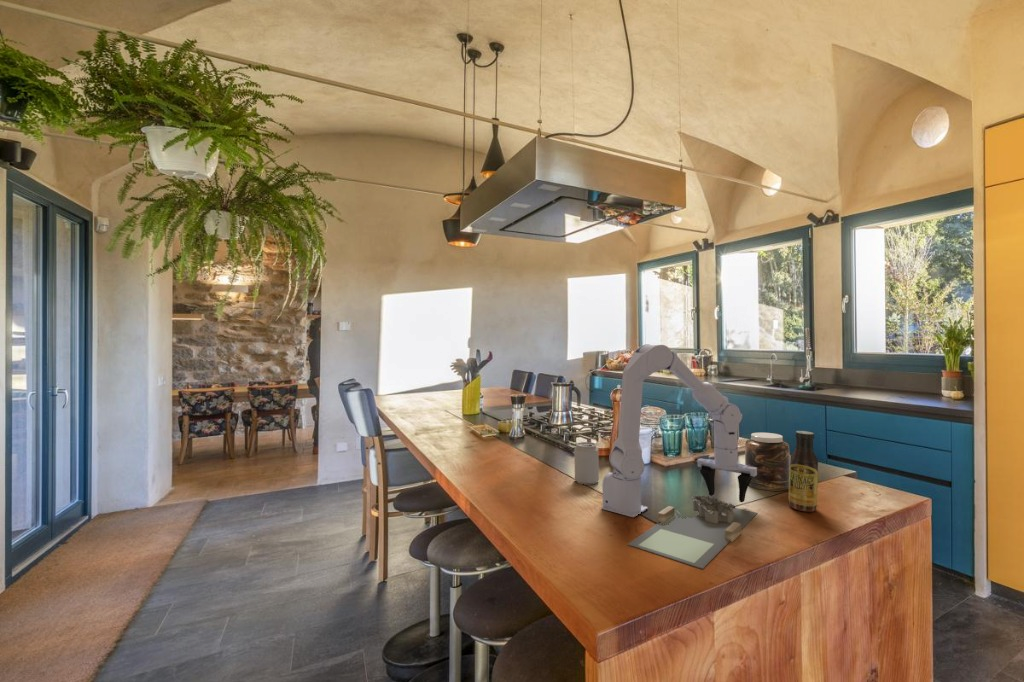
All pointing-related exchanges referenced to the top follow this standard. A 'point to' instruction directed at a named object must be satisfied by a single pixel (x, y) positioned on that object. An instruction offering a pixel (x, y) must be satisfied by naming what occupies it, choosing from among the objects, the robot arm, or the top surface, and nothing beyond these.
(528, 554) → the top surface
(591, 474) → the can
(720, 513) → the egg carton
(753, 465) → the jar
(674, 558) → the lane mat
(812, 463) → the sauce bottle
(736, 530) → the lane walls
